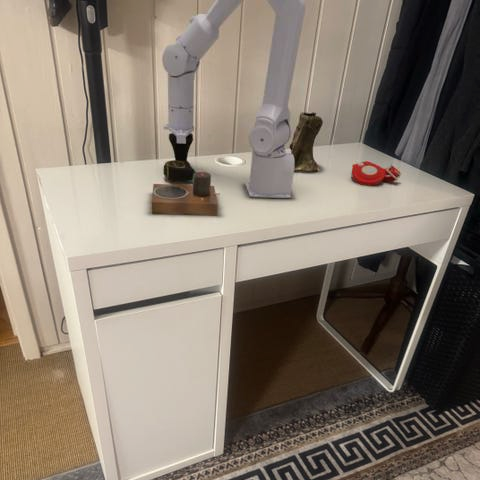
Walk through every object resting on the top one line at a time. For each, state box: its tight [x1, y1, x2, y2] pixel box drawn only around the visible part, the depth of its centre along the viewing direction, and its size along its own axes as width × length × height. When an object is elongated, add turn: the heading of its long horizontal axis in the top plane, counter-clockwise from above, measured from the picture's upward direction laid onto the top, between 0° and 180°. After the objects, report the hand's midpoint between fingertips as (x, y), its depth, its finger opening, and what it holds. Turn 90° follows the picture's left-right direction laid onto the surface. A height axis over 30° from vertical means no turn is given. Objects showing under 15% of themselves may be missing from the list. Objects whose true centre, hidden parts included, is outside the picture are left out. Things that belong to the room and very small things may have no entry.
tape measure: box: [163, 159, 196, 183], centre depth 108 cm, size 7×7×4 cm
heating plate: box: [154, 186, 188, 199], centre depth 95 cm, size 7×7×1 cm
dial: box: [192, 171, 212, 197], centre depth 95 cm, size 4×4×4 cm
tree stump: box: [289, 111, 324, 172], centre depth 120 cm, size 10×10×13 cm
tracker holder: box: [351, 160, 403, 186], centre depth 119 cm, size 12×4×10 cm
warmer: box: [151, 183, 221, 216], centre depth 96 cm, size 14×10×3 cm
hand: (180, 165), depth 113 cm, fingers closed
